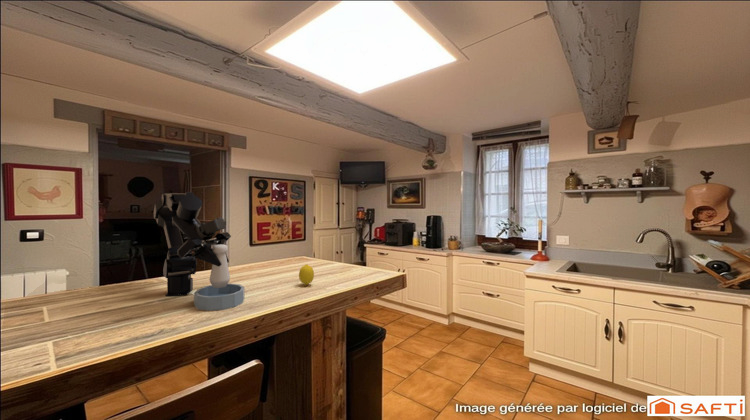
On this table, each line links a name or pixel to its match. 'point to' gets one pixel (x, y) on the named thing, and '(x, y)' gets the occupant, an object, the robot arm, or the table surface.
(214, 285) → the salt shaker
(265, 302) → the table surface
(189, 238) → the robot arm
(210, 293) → the bowl
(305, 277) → the lemon
